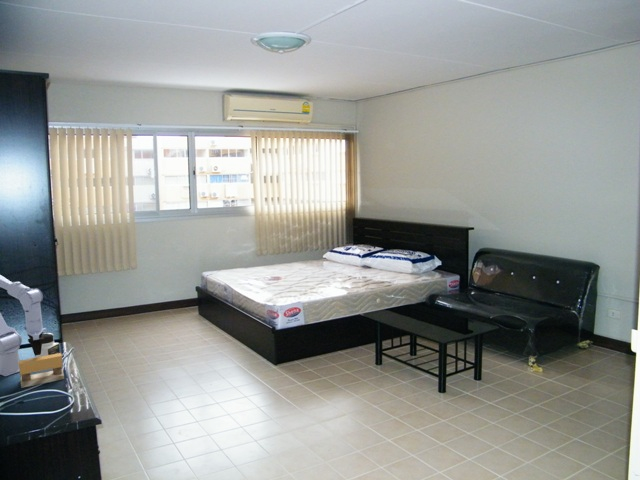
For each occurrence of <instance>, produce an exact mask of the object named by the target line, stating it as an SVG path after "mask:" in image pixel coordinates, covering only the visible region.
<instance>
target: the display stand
mask: <svg viewBox="0 0 640 480" xmlns="http://www.w3.org/2000/svg"><path fill="white" fill-rule="evenodd" d="M20 376H21V377H20V387H21V389H22V388H27V387H33V386H37V385H42V384H47V383H53V382H56V381H57V382H58V381H61V380H65V374H64V369H63V367H58V368H53V369H52V370H50V371H44V372H40V373H39V372H38V373H35V374H31V373H28V374H23V375H20Z"/></svg>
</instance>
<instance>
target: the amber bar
mask: <svg viewBox="0 0 640 480" xmlns="http://www.w3.org/2000/svg"><path fill="white" fill-rule="evenodd" d="M58 367H61V368H63V367H64V363H63V355H62V352H60V353H58V354H52V355H47V356H41V357H36V358H35V357H31V358H26V359H21V360H20V359H19V370H20V372H19V376H21V375H23V374H28V373H30V374H32V373H37V372H38V373H39V372H43V371H48V370H53V368H58Z"/></svg>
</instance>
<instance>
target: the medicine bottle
mask: <svg viewBox="0 0 640 480" xmlns="http://www.w3.org/2000/svg"><path fill="white" fill-rule="evenodd" d="M42 337H44V340H43V343H42V349H41V355H36V356H35V355H34V358H36V357H41V356H47V355H52V354H58V353H61V351H60V350H61V349H60V343H59V342H55V339H54V334H53V333H51V332H45V333H44V332H43V333H42V336H41V338H42Z"/></svg>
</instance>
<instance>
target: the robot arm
mask: <svg viewBox="0 0 640 480" xmlns="http://www.w3.org/2000/svg"><path fill="white" fill-rule="evenodd" d="M0 288H2V289H4V290H6V292H7V294H8V295H9V296H12V297H14V298H15V299H17V300H19V302H20V304H21V305H22V309H23V311H24V316H25V317H24V318H25V326H26V327H25V328H26V331H25V332H26V335H27V336H28V338H27V342H28V343H29V345H30V346H31V348H32V351H33V354H34V357H35V356H36V355H41V349H42V343H43V340H44V337H42V338H41V336H42V334H44V332H46V331H47V327H44V325H43V317H42V307H41V303H42V301H43V300H44V299H43V298H44V295H43V292H42V291H41V289H39V288H37V287H36V288H30V287H29V286H27V285H24V284H23V283H22V282H21V281H12V280H11V281H10V280H9V279H7V278H6V277H5V276H3V275H1V274H0ZM16 330H17V329H16V328H14V327H11V326H8V324H7V323H6V321H5V319H4V316H3V314H2V313H1V312H0V375H2V376H3V377H7V376H11V375H13V374H17V373H20V370H19V361H20V355H19V349H20V346H21V345H22V343H23V339H22V336H21V334H20V333H18V331H16Z"/></svg>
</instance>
